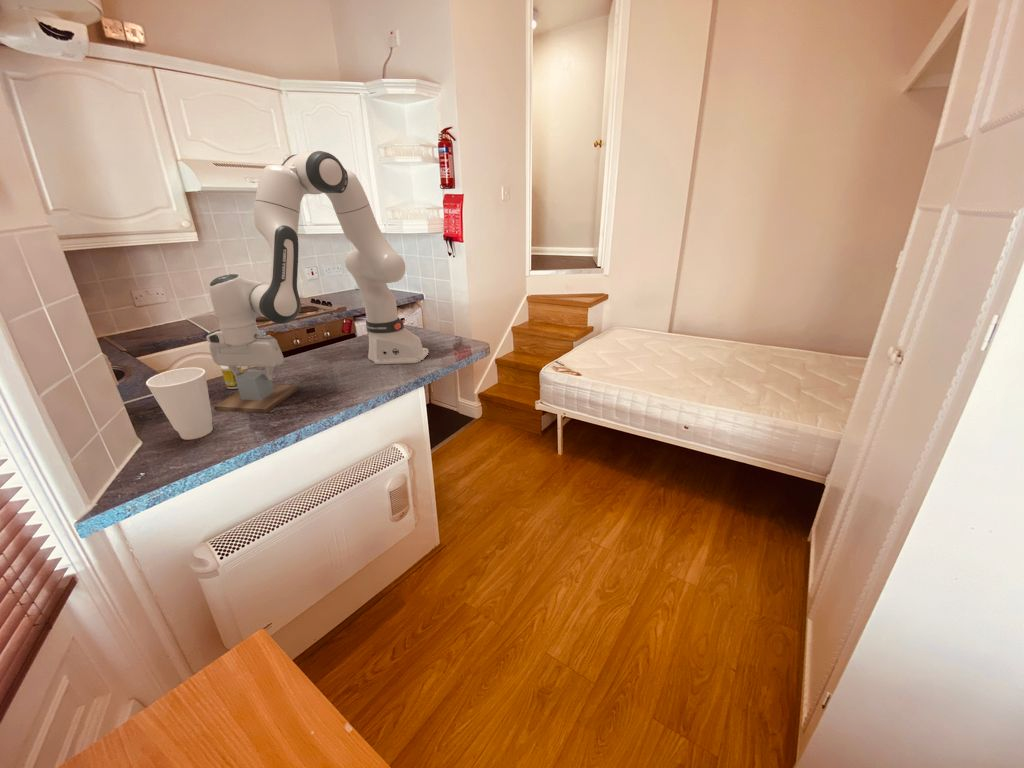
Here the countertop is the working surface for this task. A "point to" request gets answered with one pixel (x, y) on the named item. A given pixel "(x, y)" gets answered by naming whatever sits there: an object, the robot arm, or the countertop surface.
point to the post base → (255, 405)
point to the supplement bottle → (229, 377)
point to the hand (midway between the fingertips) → (254, 378)
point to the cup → (184, 400)
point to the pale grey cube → (254, 385)
